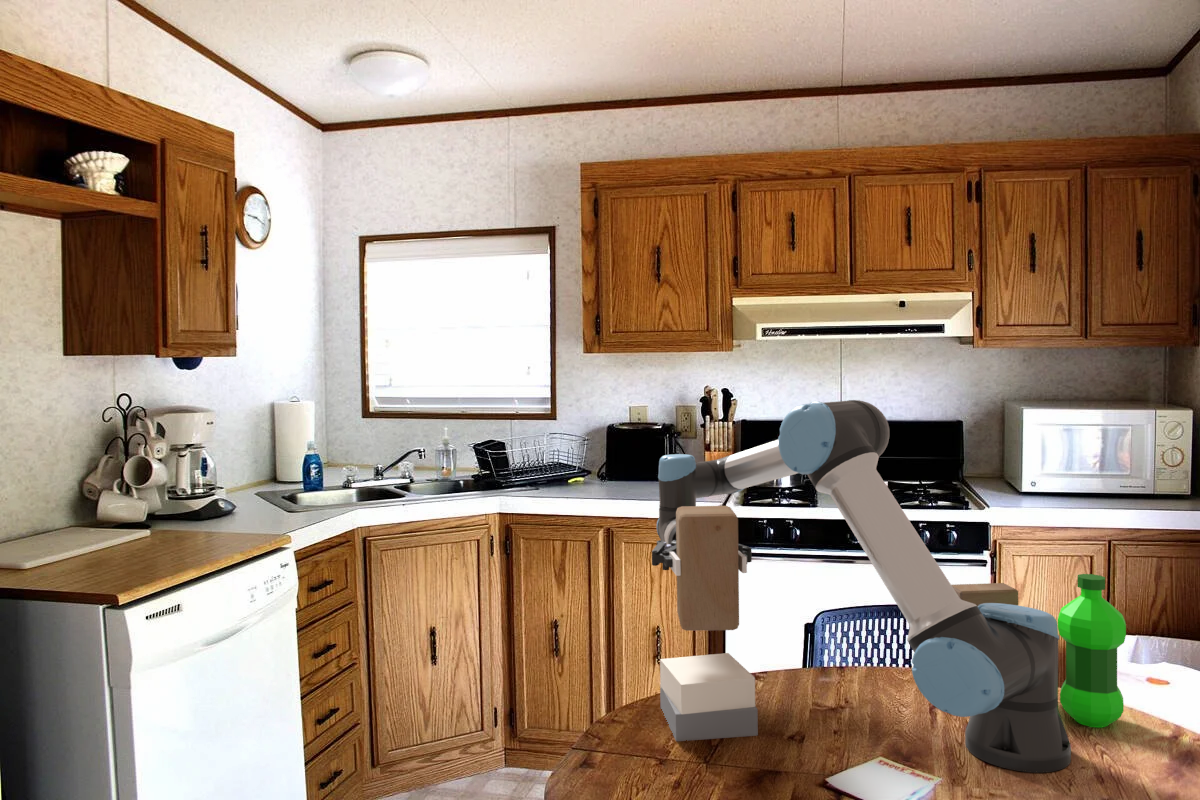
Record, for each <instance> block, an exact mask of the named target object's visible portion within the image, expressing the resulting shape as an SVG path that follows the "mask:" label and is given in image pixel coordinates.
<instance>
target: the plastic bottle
mask: <svg viewBox="0 0 1200 800" xmlns="http://www.w3.org/2000/svg"><path fill="white" fill-rule="evenodd" d="M1077 588H1080V595H1079V596H1077V597H1075V598H1074V599H1072V600H1070V601H1069V602H1068V603H1067V604H1065V605H1064V606H1062V607H1061V608H1060V611H1059V613H1058V617H1057V628H1058V635H1059V637H1061V638H1062V639H1063V640H1064V642H1065V680H1064V682H1063V683H1062V685H1061V688H1060V691H1059V692H1060V693H1059V701H1060V704H1061V706H1062V708H1063V710H1064V711H1065V713H1066V714H1068V715H1069V716H1070V717H1072V718H1073V719H1074V721H1075V722H1077V723H1078V724H1080V725H1083V726H1087V727H1090V728H1098V729H1099V728H1105V727H1109V725H1111V724H1113V723H1115V722H1116V721H1118V720H1119V719H1120V718H1121V717H1122V715H1123V713H1124V709H1125V708H1124V706H1125V705H1124V697H1123V694H1122V692H1121V690H1120V688H1119V686H1118V648H1120V647H1121V646H1122V645H1123V644H1124V643H1125V640H1126V635H1127V631H1126V630H1127V624H1126V620H1125V617H1124V615H1123V614H1122V612H1120V611H1119V610H1118V609H1117V608H1116V607H1115V606H1114V605H1112V604H1111V603H1110V602H1108V601H1107V600H1106V599H1105V597H1102V596H1103V594H1102V592H1103V591H1105V590H1106V577H1105V576H1102V575H1099V574H1092V573H1081V574H1077Z"/></svg>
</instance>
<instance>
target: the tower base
mask: <svg viewBox="0 0 1200 800" xmlns="http://www.w3.org/2000/svg"><path fill="white" fill-rule="evenodd" d="M659 686H660V685H659ZM659 691H660V692H659V694H660V695H659V697H660V698H659V699H660V700H659V701H660V710H661V709H662V711H663V713H664V715H663V716H665V717H664V718H666V719H665V721H666V720H667V721H666V723H667V722H668V723H667V725H668V724H669V725H668V728H669V729H670V731H672V732H671V734H672V733H673V734H672V736H673V738H674V739H675V742H685V741H686V740H687V741H699V740H701V741H702V740H713V739H725V738H726V739H727V738H740V737H741V738H742V737H753V736H754V737H755V736H759V732H758V731H759V728H758V726H759V724H758V723H759V721H758V717H759V716H758V715H759V714H758V711H759V710H758V708H757V706H756V705H755V707H749V708H739V709H730V710H720V711H710V712H701V713H691V714H681V713H680V712H679V710H678V709H677V708H676V706H675V705H674V704H673V702H672V701H671V700H670V698H669V697H668V696H667V694H666V693H665V692H664V690H663V689H662V688H661V686H660V687H659ZM662 711H661V712H662ZM663 713H662V714H663Z"/></svg>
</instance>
